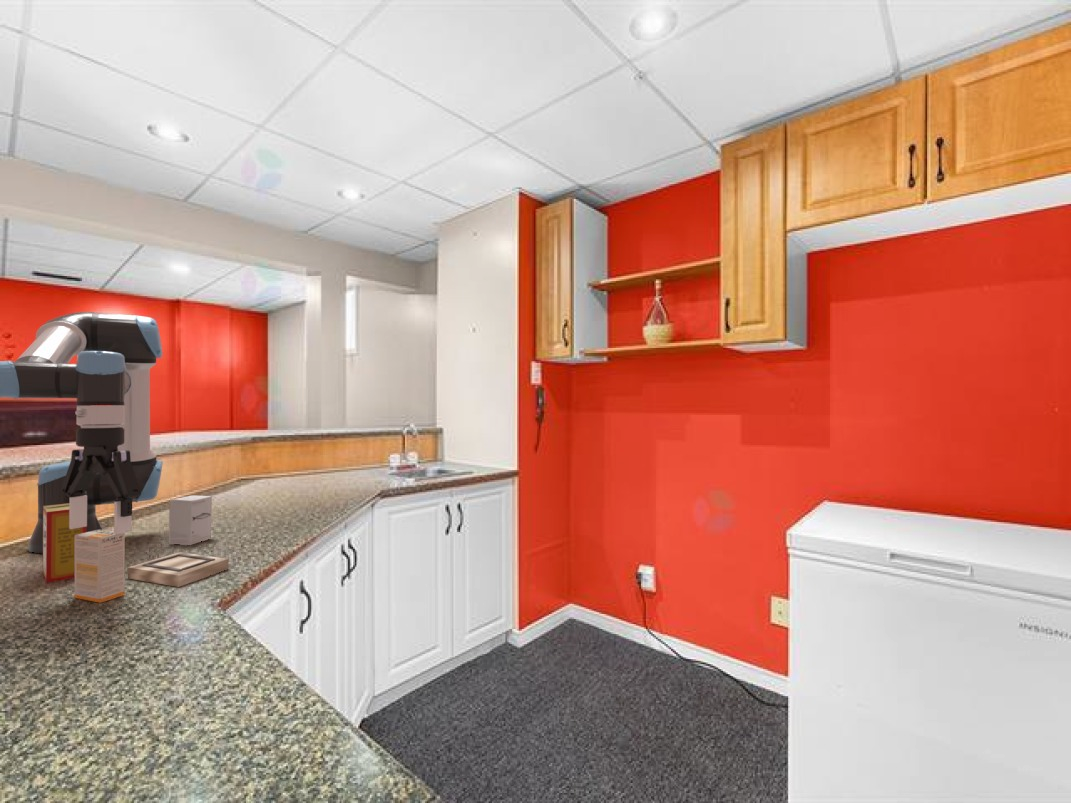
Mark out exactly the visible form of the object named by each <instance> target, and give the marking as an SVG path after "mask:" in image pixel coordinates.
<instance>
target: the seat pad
mask: <svg viewBox="0 0 1071 803" xmlns="http://www.w3.org/2000/svg"><path fill="white" fill-rule="evenodd" d="M227 569H228V570H229V558H227V557H226V558H223V557H216V556H211V555H205V554H195V553H188V552H181V551H179V552H176V553H173V554H169V555H166V556H162V557H159V558H156V559H152V560H148V561H145V562H142V563H139V564H134V565H131V566H128V567H127V579H129V580H130V579H131V580H135V581H140V582H141V581H142V582H147V583H153V584H159V585H165V586H171V587H178V588H179V587H182V586H185V585H189V584H190V583H194V582H196V581H199V580H202V579H205V578H208V577H211V576H213V575H217V574H219V572H220V573H222V572H225V571H228V570H227ZM224 570H225V571H224ZM221 571H222V572H221ZM216 573H217V574H216ZM210 575H211V576H210Z"/></svg>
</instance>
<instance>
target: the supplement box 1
mask: <svg viewBox="0 0 1071 803" xmlns="http://www.w3.org/2000/svg"><path fill="white" fill-rule="evenodd" d="M125 533H126V532H125ZM125 533H121V534H114V530H106V529H102V530H95V531H90V532H86V533H81V534H77V535H75V539H74V544H75V546H74V547H75V549H74V550H75V552H74V553H75V578H74V598H75V599H80V600H84V601H89V602H95V603H99V604H100V603H105V602H108V601H110V600H114V599H117V598H119V597H122V596H125V594H126V593H125V591H126V590H125V589H126V588H125V585H126V584H125V581H126V578H125V577H126V576H125V575H126V574H125V573H126V572H125V570H126V568H125V563H126V560H125V559H126V558H125V556H126V554H125V552H126V551H125V548H126V546H125V542H126V540H125V536H126V534H125Z"/></svg>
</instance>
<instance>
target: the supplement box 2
mask: <svg viewBox="0 0 1071 803" xmlns="http://www.w3.org/2000/svg"><path fill="white" fill-rule="evenodd" d="M212 501H213V499H212V496H211V495H189V496H188V495H187V496H183V497H177V498H173V499H170V500H169V512H168V520H169V521H168V544H169V545H174V544H180V545H179V546H187V545H190V546H193V545H195V544H199V543H201V541H202V542H205V541H208V539H209V540H211V539H212V514H213V513H212V510H213V509H212V508H213V506H212V505H213V502H212Z"/></svg>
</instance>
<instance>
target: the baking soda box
mask: <svg viewBox="0 0 1071 803" xmlns="http://www.w3.org/2000/svg"><path fill="white" fill-rule="evenodd" d="M81 533H86V527H80V528H75V529H69V503H66V504H57V505H48V506H43V553H42V575H43V578H44V577H45V578H44V579H45V583H47V584H48V582H49V583H53V582H57V581H58V582H59V581H63V580H64V579H65V580H68V579H75V578H74V577H75V553H74V552H75V550H74V549H75V547H74V546H75V544H74V539H75V535H77V534H81Z"/></svg>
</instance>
